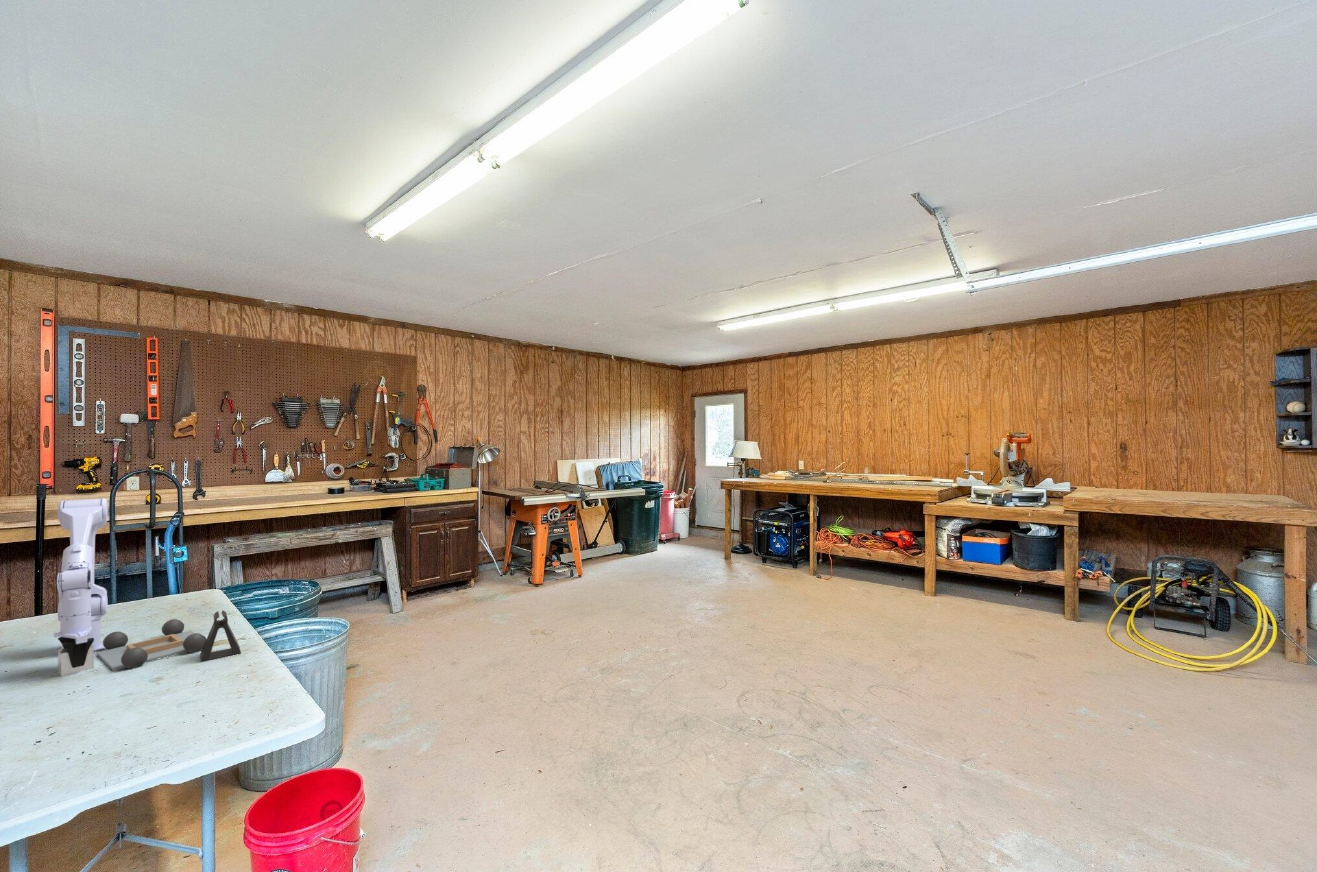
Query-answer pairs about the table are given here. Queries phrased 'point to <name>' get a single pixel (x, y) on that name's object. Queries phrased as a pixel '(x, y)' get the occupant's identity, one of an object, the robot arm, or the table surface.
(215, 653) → the phone stand
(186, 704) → the table surface
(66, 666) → the block
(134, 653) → the chassis board
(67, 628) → the robot arm
